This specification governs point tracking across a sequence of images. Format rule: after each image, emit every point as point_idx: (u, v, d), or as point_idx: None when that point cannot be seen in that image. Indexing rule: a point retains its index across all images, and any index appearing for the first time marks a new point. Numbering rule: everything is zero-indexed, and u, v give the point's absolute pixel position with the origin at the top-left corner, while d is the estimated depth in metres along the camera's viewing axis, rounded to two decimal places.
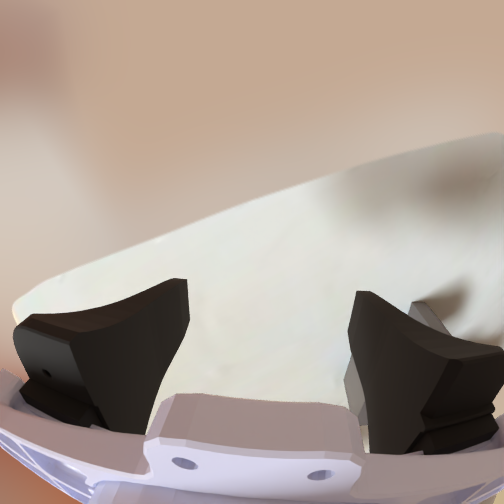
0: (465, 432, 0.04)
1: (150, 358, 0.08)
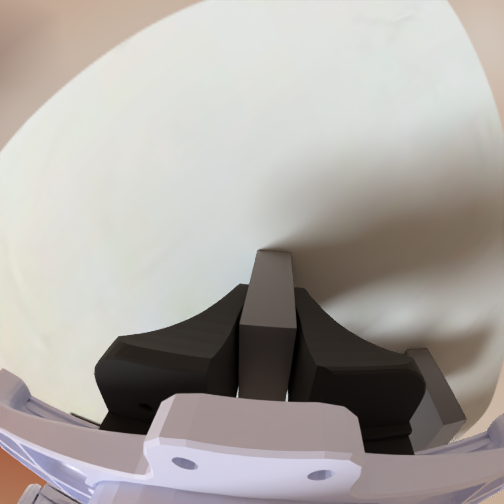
0: None
1: (235, 371, 0.08)
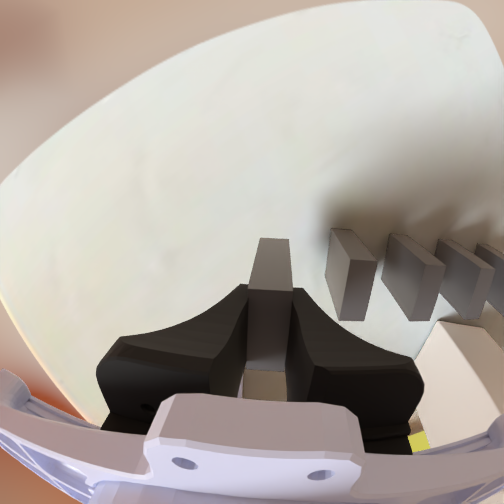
0: None
1: (236, 371, 0.08)
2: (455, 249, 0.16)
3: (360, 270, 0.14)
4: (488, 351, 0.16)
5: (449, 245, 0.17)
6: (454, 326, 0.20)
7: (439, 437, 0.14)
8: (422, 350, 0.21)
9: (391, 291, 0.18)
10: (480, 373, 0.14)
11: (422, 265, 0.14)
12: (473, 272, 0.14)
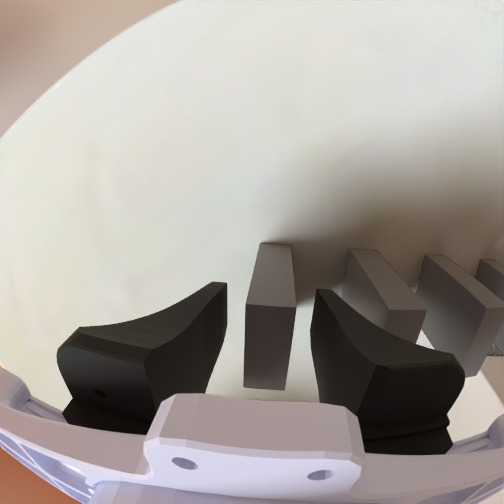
0: (408, 446, 0.04)
1: (200, 367, 0.08)
2: None
3: (402, 324, 0.08)
4: None
5: (496, 268, 0.11)
6: (487, 359, 0.14)
7: None
8: None
9: (426, 332, 0.12)
10: None
11: (480, 308, 0.08)
12: None
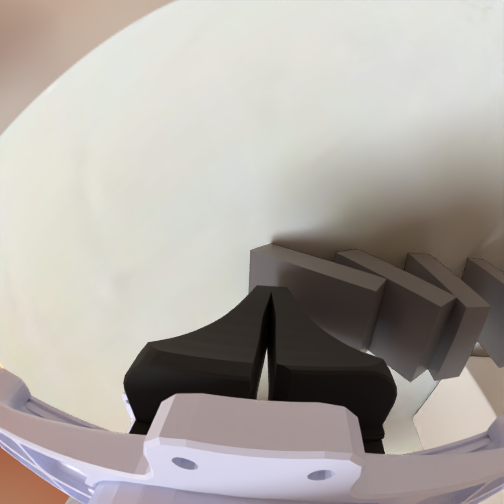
0: None
1: None
2: (491, 274, 0.11)
3: (443, 315, 0.09)
4: None
5: (482, 267, 0.12)
6: (477, 360, 0.15)
7: None
8: (437, 389, 0.16)
9: None
10: None
11: (460, 307, 0.08)
12: None
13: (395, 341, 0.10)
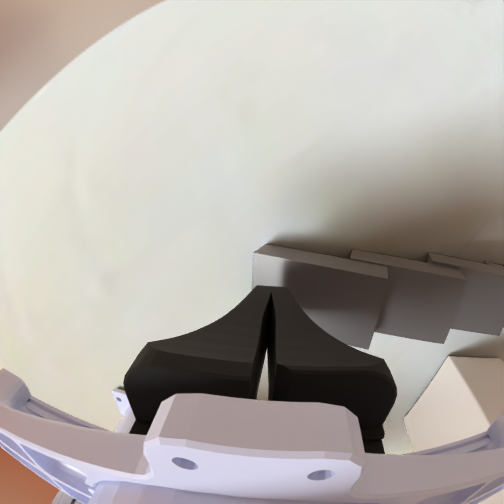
0: None
1: None
2: None
3: None
4: None
5: None
6: (469, 361, 0.15)
7: None
8: (427, 390, 0.16)
9: (453, 326, 0.12)
10: None
11: None
12: None
13: (427, 319, 0.12)
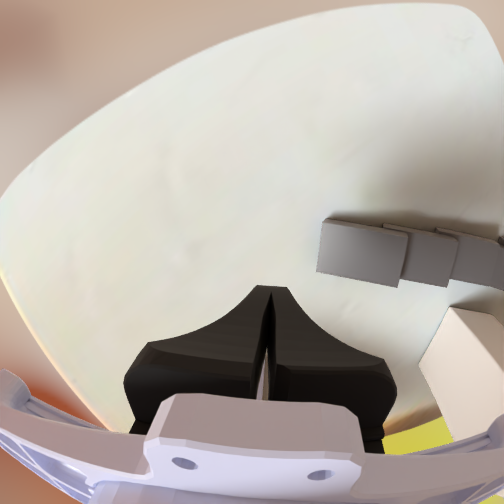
0: None
1: None
2: None
3: None
4: (498, 334, 0.17)
5: None
6: (465, 312, 0.21)
7: (456, 418, 0.15)
8: (435, 336, 0.22)
9: (455, 278, 0.18)
10: (493, 353, 0.14)
11: (496, 246, 0.16)
12: None
13: (434, 268, 0.18)
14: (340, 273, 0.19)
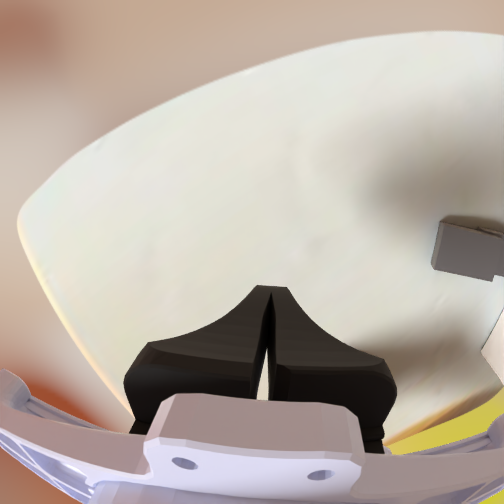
0: None
1: None
2: None
3: None
4: None
5: None
6: None
7: None
8: (497, 325, 0.21)
9: None
10: None
11: None
12: None
13: None
14: (453, 270, 0.18)
